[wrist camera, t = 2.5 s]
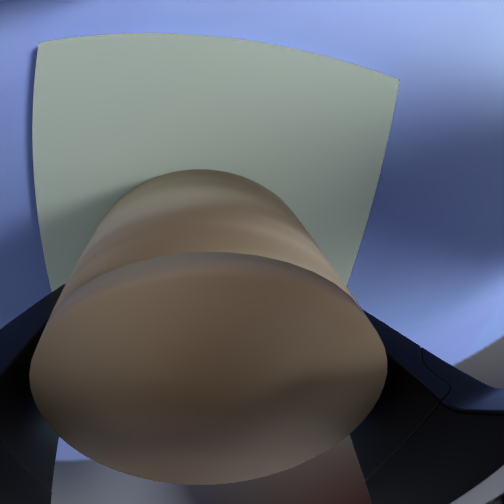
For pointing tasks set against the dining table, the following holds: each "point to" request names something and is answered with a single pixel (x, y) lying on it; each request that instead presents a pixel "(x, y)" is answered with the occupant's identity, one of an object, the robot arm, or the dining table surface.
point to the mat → (204, 131)
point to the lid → (205, 338)
